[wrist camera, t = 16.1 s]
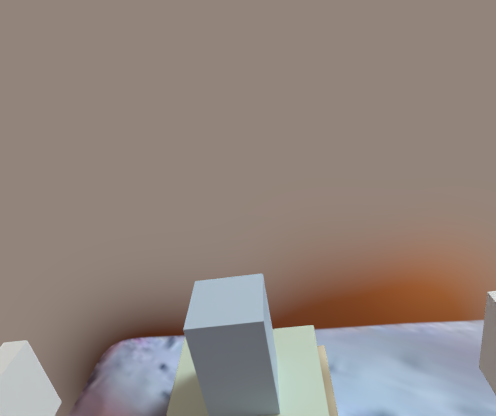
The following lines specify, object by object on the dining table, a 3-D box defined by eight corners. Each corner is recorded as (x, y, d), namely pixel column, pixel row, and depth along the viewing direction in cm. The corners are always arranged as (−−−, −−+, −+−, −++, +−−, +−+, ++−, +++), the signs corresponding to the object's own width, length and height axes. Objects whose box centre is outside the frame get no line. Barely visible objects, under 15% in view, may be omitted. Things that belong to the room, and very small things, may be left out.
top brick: (316, 352, 43) (313, 325, 41) (339, 491, 30) (336, 458, 28) (192, 364, 44) (184, 337, 42) (165, 501, 31) (152, 471, 30)
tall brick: (277, 357, 38) (262, 273, 34) (280, 413, 32) (263, 321, 28) (216, 363, 38) (195, 281, 34) (209, 419, 33) (183, 329, 29)
